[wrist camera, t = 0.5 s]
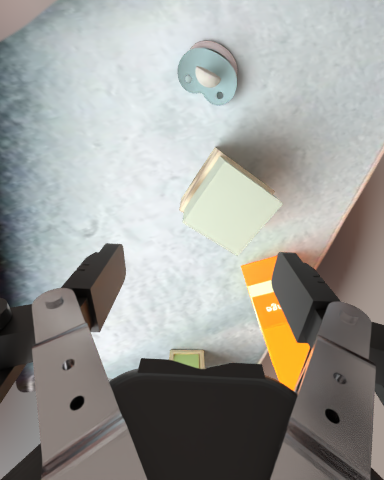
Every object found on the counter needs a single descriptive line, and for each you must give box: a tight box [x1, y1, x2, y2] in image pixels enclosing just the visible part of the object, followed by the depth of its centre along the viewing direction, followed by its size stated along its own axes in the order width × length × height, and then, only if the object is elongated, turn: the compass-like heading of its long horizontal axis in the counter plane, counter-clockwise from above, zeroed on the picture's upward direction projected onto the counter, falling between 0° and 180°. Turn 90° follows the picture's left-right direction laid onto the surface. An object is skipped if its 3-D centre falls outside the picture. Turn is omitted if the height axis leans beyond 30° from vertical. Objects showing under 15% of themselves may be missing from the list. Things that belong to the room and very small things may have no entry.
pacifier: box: [178, 41, 237, 105], centre depth 25 cm, size 7×6×6 cm
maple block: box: [179, 148, 275, 213], centre depth 32 cm, size 9×9×6 cm
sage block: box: [183, 157, 283, 256], centre depth 27 cm, size 8×8×5 cm
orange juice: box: [241, 256, 310, 391], centre depth 33 cm, size 8×9×20 cm
